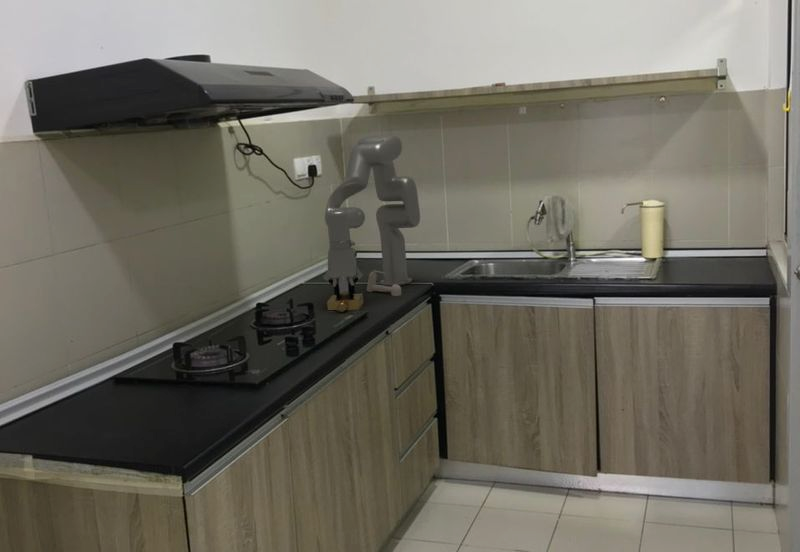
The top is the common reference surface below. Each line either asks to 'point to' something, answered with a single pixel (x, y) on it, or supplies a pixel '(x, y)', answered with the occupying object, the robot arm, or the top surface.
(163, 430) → the top surface
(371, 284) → the faucet
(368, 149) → the robot arm
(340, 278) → the pipe stub
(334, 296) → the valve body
